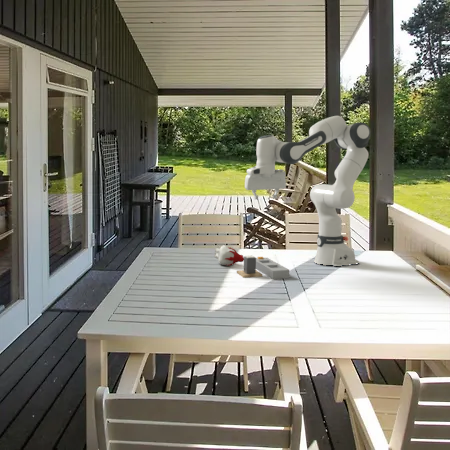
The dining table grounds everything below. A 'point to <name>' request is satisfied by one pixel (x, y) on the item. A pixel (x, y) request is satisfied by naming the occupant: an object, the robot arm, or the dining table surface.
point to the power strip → (271, 268)
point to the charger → (249, 264)
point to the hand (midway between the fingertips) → (265, 198)
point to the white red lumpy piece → (228, 256)
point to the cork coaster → (249, 274)
